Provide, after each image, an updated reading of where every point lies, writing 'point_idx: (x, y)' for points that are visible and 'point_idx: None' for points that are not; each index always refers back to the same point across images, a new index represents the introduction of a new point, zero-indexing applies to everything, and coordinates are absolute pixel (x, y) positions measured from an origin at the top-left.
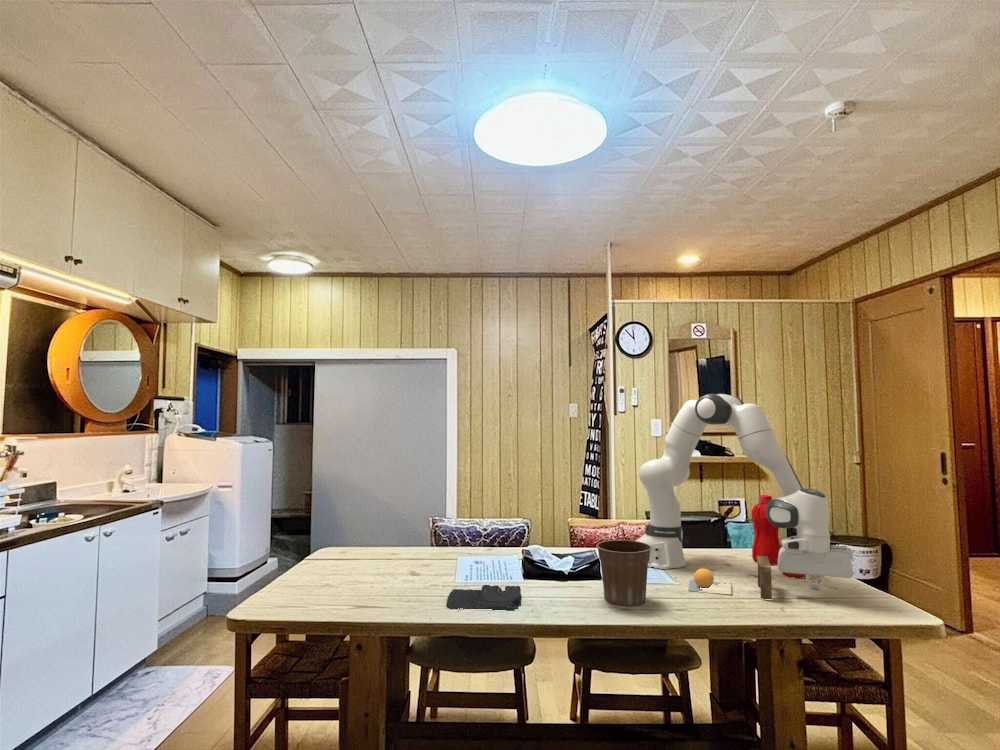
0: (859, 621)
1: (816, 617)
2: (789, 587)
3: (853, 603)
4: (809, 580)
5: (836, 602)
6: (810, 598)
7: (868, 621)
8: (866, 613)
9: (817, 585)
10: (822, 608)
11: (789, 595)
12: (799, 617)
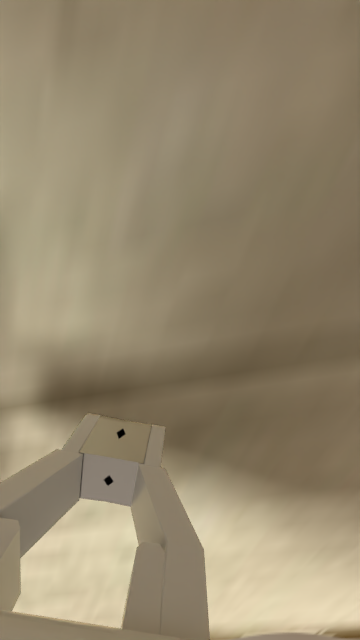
0: (216, 617)
1: (77, 601)
2: (20, 147)
3: (319, 443)
4: (31, 540)
5: (233, 440)
6: (113, 396)
7: (249, 615)
8: (294, 554)
9: (128, 495)
10: (128, 523)
11: (4, 360)
12: (18, 606)
